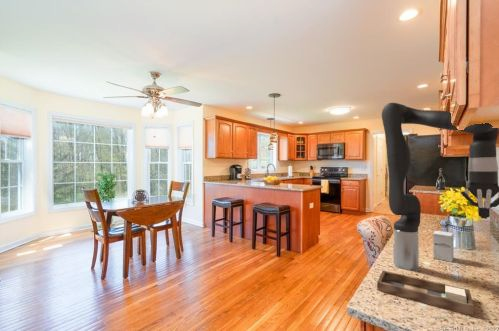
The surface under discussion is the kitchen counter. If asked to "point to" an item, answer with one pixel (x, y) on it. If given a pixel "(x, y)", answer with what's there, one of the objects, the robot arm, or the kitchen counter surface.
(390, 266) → the kitchen counter surface
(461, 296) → the cream block
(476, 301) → the kitchen counter surface
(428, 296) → the channel
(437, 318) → the kitchen counter surface
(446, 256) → the supplement box
